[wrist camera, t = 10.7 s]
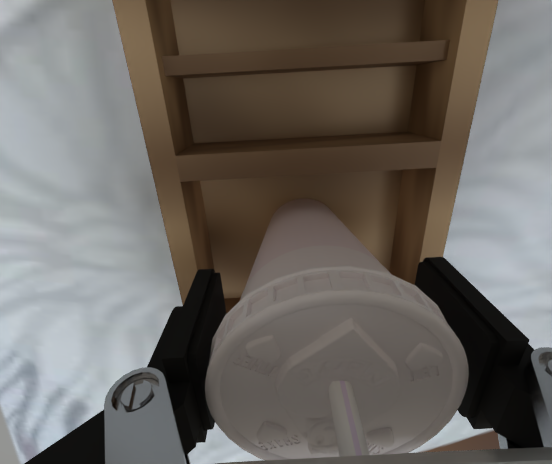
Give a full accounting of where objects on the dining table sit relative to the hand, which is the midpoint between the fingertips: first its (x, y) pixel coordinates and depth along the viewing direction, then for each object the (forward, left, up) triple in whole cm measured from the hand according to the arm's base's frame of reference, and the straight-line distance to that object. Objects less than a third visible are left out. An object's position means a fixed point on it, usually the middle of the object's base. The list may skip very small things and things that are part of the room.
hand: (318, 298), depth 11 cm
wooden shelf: (-5, 0, -7) cm, 8 cm away
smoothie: (0, 0, -6) cm, 6 cm away
